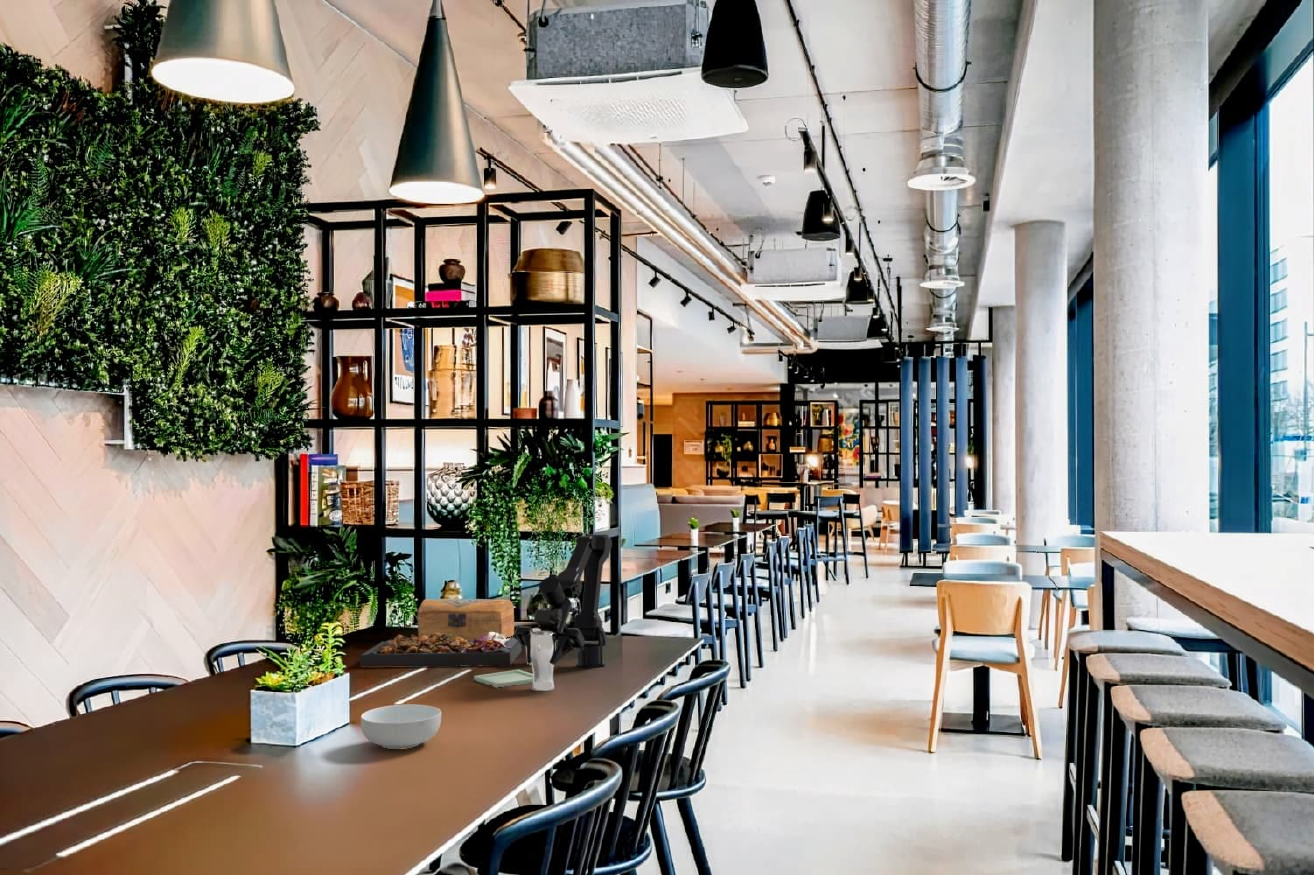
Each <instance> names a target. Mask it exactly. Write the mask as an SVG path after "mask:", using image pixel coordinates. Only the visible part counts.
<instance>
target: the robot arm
mask: <svg viewBox="0 0 1314 875" xmlns="http://www.w3.org/2000/svg"><path fill="white" fill-rule="evenodd" d="M612 541H613V540H612V538H610V537H609V536H608V534H599V533H597V534H596V533H595V534H594V533H593V534H589V533H588V534H586V535H580V536H577V538H576V540H575V546H574V549H573V551H572V553H571V556H570V558H569V560H568V562H567V565H566V567H565V569H564V570H563V571H561V572H559V573H558V574H556V573H552V574H551V573H550V574H549V576H548V577H545V578H543V580H542V581H540V582H539V585H538V589H539V591H540V593H541V595H542V598H543V600H544V601H545V603H546V604H547V605H548V609H536V610H535V614H534V618H533V622H534V623H536V624H537V628H538V629H541V631H553V632H555V641H556V642H557V645H556V650H555V653H554V656H553V659H552V665H554V666H555V665H556V664H557V663H558V662H559V661H560V660H561V659H562V658H564V656H565V655H567V654H569V653H570V652H571V651H574V650H575V649H578V650H577V663H576V666H577V665H578V667H581V668H584V669H592V668H599V666H600V667H605V666H604V665H606V663H603V647H606V646H607V644H608V636H607V633H606V632H605V629H604V628H603V620H602V618H601V616H600V614H599V607H600V606H599V605H600V594H601V586H602V577H603V576H602V575H603V568H604V567H603V565H604V563H605V562H606V561H607V560H608V558H609V557H610V553H611V549H612V547H613V546H612V545H613V542H612ZM585 569H586V570H585ZM584 571H585V578H584V587H583V584H582V580H581V579H582V575H583V574H584ZM583 588H584V589H583ZM582 590H583V596H582V597H583V599H582V607H581V610H580V612H578V614H575V616H574V623H573V626H572V628H571V627H568V623H567V620H568V617H569V615H570V613H573V612H574V610H573V609H574V608H573V606H572V605H573V604H572V601H571V599H578V598H579V597H580V595H581V593H582ZM532 629H533V628H532V626H517V627H516V629H515V630H514V636H515V637H516V638H515V639H518V641H519V643H520V645H521V647H525V646H527V657H526V663H527V662H528V664H530V663H531V659H530V633H531V632H533V630H532ZM563 632H564V633H563ZM528 664H527V665H528Z"/></svg>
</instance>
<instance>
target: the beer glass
mask: <svg viewBox="0 0 1314 875" xmlns="http://www.w3.org/2000/svg"><path fill="white" fill-rule="evenodd" d="M556 644H557V641H555V632H553V631H534V632H531V633H530V659H531V664H532V665H531V669H532V674H533V683H531V690H532V691H533V692H550V690H551V691H553V690H555V683H554V667H555V664H554V665H552V659H553V656H554V653H555V650H556V648H557V645H556Z"/></svg>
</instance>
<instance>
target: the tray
mask: <svg viewBox="0 0 1314 875" xmlns="http://www.w3.org/2000/svg"><path fill="white" fill-rule="evenodd" d="M475 680H476V681H475ZM473 681H475V682H478V683H481V684H483V683H484V684H483V685H487V686H489V685H492V686H494V687H493V688H495V687H497V688H496V689H499V688H498V687H503V688H505V687H504V686H509V687H511V686H510V685H516V686H520V685H521V686H522V685H528V684H532V683H533V672H532V673H531V672H528V671H524V670H522V669H519V668H518V669H512V670H506V671H499V672H492V673H487V674H485V673H484V674H478V675H473ZM492 686H491V687H492Z"/></svg>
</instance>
